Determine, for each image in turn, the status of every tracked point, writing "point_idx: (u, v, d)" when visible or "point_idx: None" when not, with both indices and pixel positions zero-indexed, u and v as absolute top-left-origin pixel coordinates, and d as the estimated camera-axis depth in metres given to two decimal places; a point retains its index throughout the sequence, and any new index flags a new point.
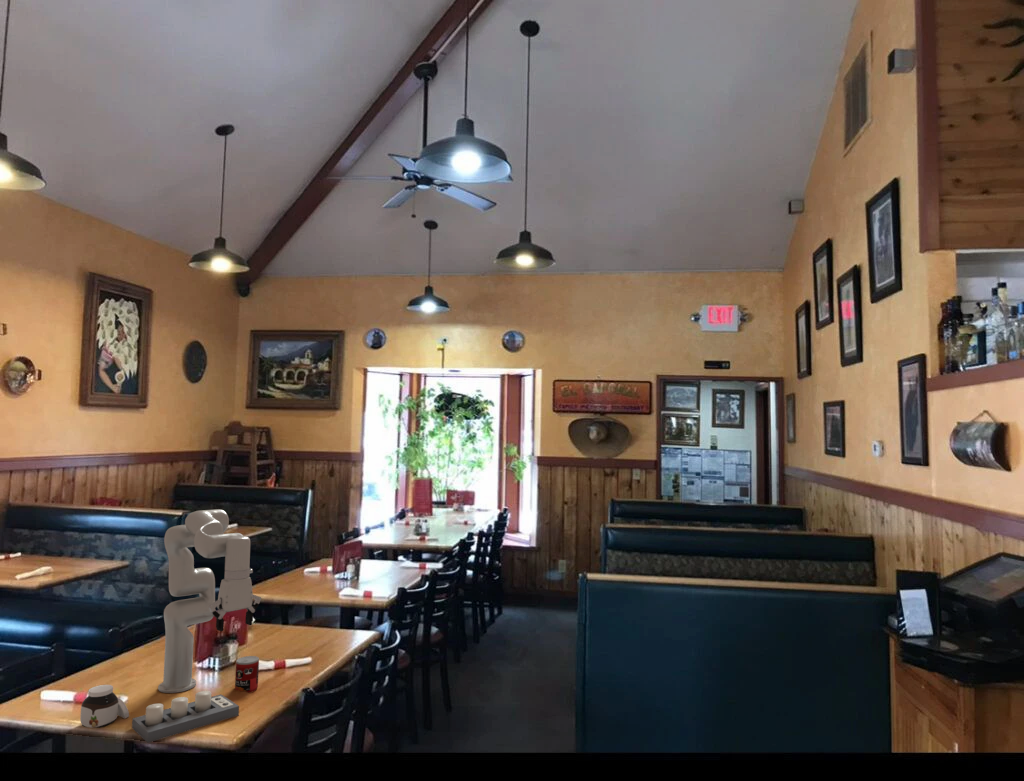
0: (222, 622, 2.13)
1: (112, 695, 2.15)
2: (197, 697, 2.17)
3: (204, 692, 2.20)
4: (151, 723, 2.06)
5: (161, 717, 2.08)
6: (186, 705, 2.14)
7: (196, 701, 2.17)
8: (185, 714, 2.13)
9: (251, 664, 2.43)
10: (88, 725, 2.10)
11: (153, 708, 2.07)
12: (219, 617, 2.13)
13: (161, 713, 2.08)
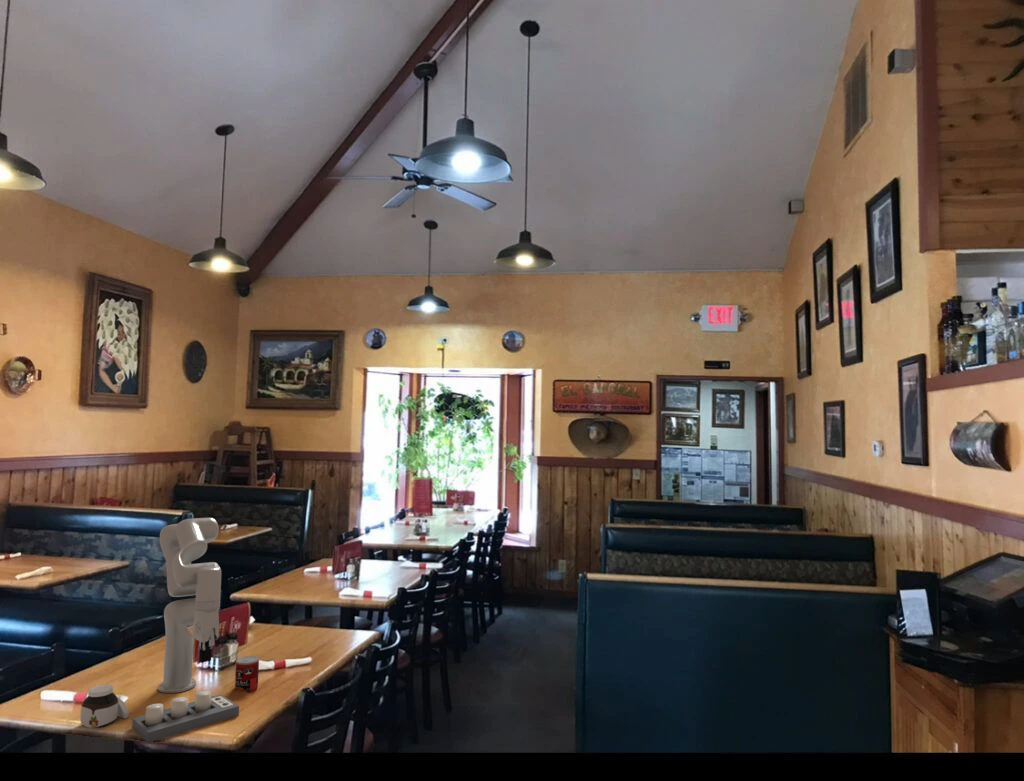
0: None
1: (112, 695, 2.15)
2: (197, 697, 2.17)
3: (204, 692, 2.20)
4: (151, 723, 2.06)
5: (161, 717, 2.08)
6: (186, 705, 2.14)
7: (196, 701, 2.17)
8: (185, 714, 2.13)
9: (251, 664, 2.43)
10: (88, 725, 2.10)
11: (153, 708, 2.07)
12: None
13: (161, 713, 2.08)
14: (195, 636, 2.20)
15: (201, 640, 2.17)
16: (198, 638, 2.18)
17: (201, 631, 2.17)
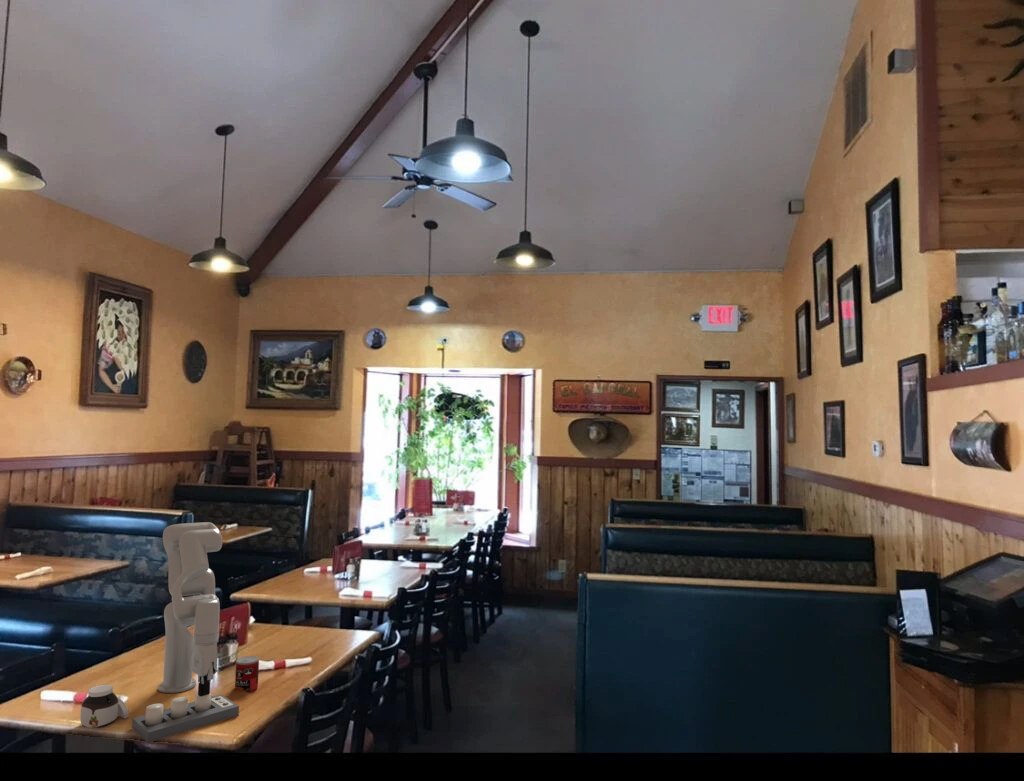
0: None
1: (112, 695, 2.15)
2: (197, 698, 2.17)
3: None
4: (151, 723, 2.06)
5: (161, 717, 2.08)
6: (186, 705, 2.14)
7: (196, 702, 2.17)
8: (185, 714, 2.13)
9: (251, 664, 2.43)
10: (88, 725, 2.10)
11: (153, 708, 2.07)
12: None
13: (161, 713, 2.08)
14: (194, 670, 2.19)
15: (200, 674, 2.16)
16: (197, 672, 2.17)
17: (200, 665, 2.16)
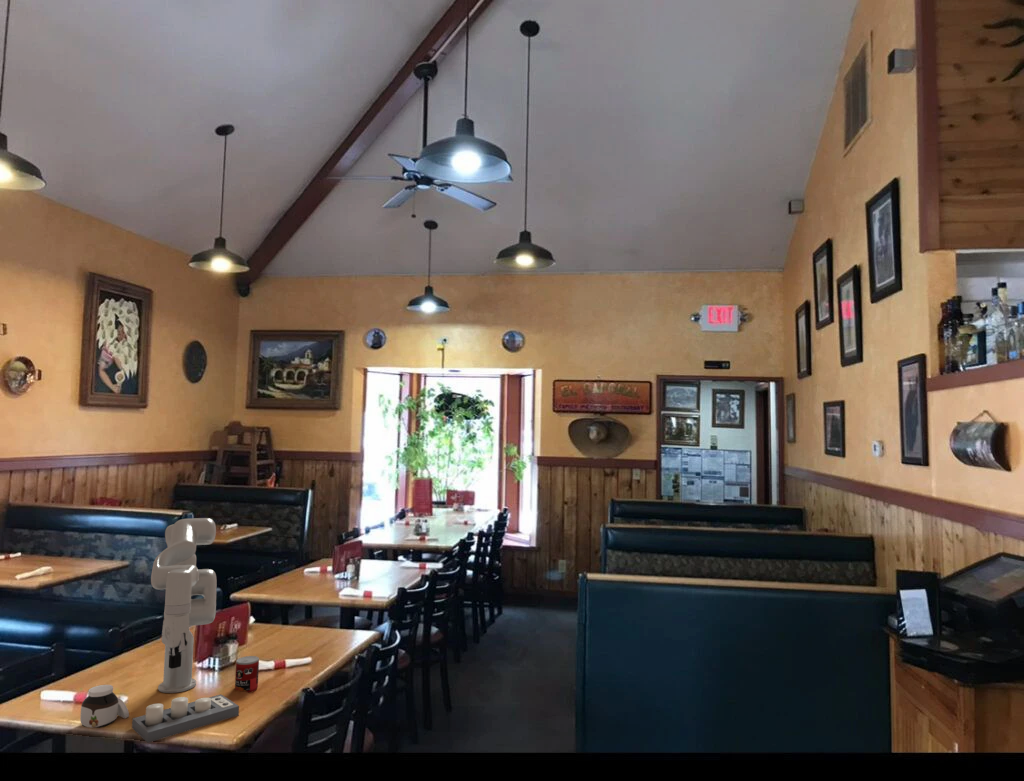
0: None
1: (112, 695, 2.15)
2: (197, 704, 2.17)
3: (204, 699, 2.20)
4: (151, 723, 2.06)
5: (161, 717, 2.08)
6: (186, 705, 2.14)
7: (196, 708, 2.17)
8: (185, 714, 2.13)
9: (251, 664, 2.43)
10: (88, 725, 2.10)
11: (153, 708, 2.07)
12: None
13: (161, 713, 2.08)
14: (164, 641, 2.13)
15: (171, 645, 2.09)
16: (167, 643, 2.11)
17: (171, 636, 2.10)
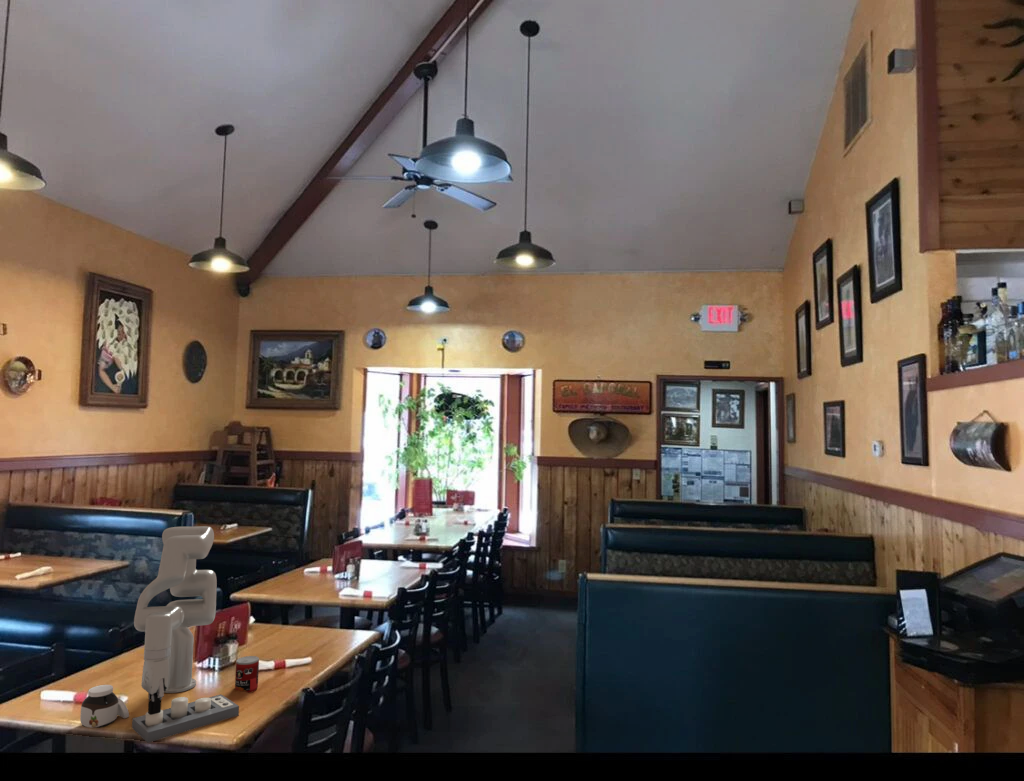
0: (160, 702, 2.09)
1: (112, 695, 2.15)
2: (197, 704, 2.17)
3: (204, 699, 2.20)
4: None
5: None
6: (186, 705, 2.14)
7: (196, 708, 2.17)
8: (185, 714, 2.13)
9: (251, 664, 2.43)
10: (88, 725, 2.10)
11: (152, 714, 2.07)
12: None
13: (161, 719, 2.08)
14: (144, 686, 2.08)
15: (149, 691, 2.05)
16: (146, 689, 2.06)
17: (149, 682, 2.05)
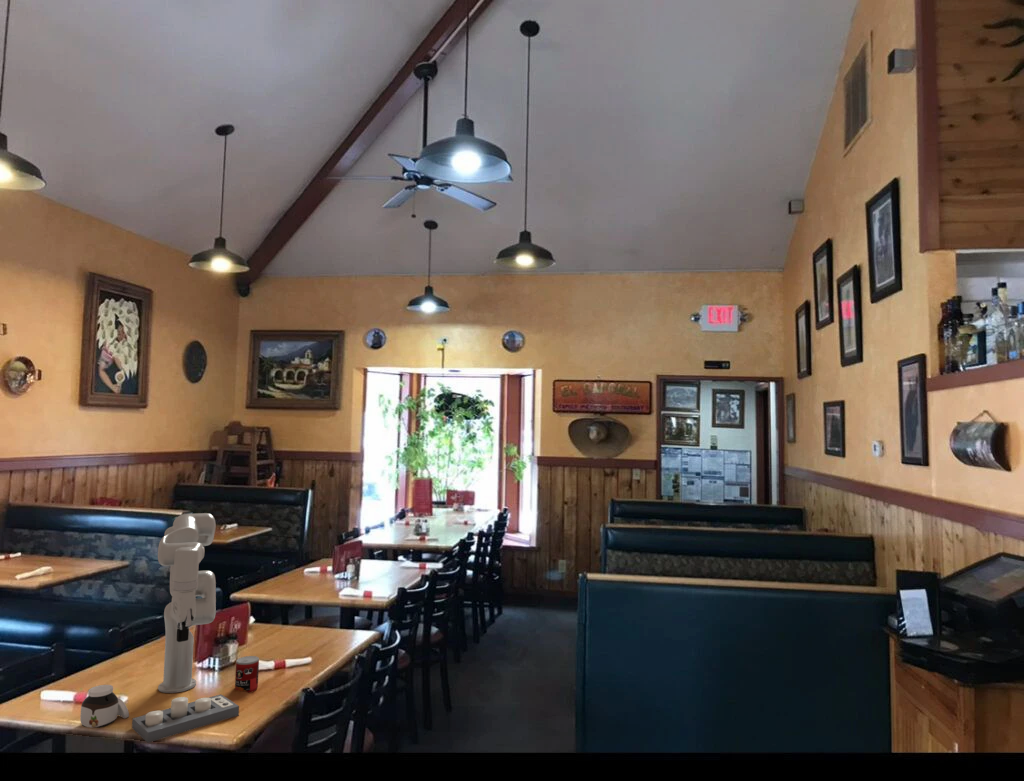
0: None
1: (112, 695, 2.15)
2: (197, 704, 2.17)
3: (204, 699, 2.20)
4: None
5: None
6: (186, 705, 2.14)
7: (196, 708, 2.17)
8: (185, 714, 2.13)
9: (251, 664, 2.43)
10: (88, 725, 2.10)
11: (152, 715, 2.07)
12: None
13: (161, 720, 2.08)
14: (172, 616, 2.20)
15: (178, 620, 2.16)
16: (175, 618, 2.18)
17: (178, 611, 2.17)
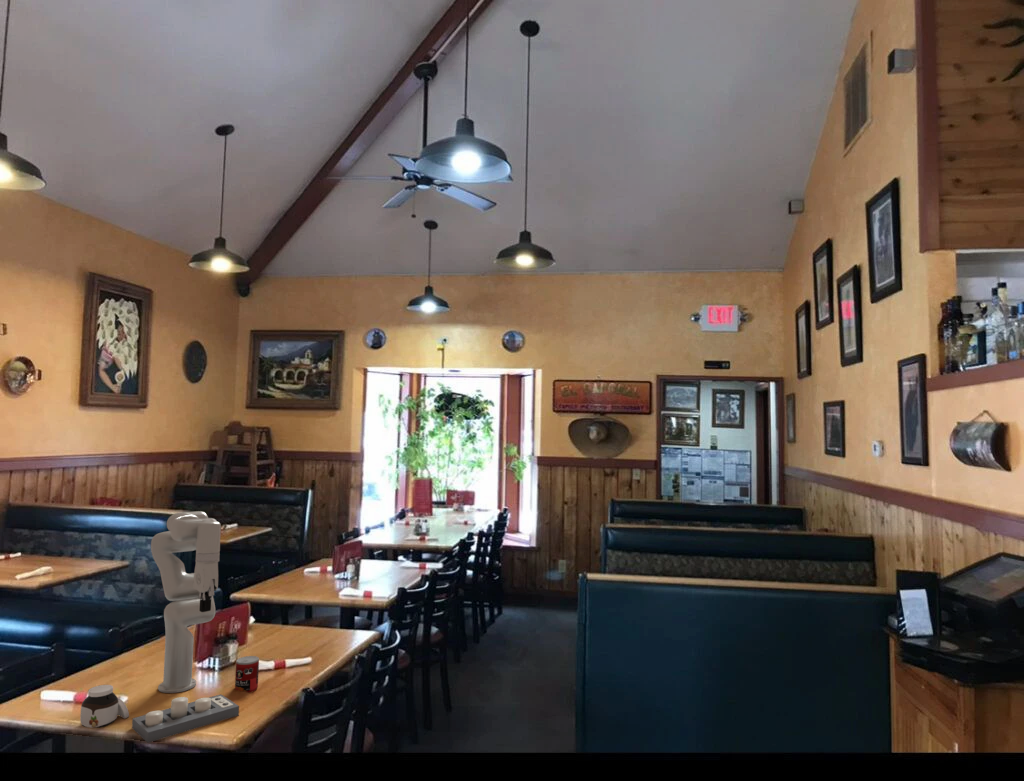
0: None
1: (112, 695, 2.15)
2: (197, 704, 2.17)
3: (204, 699, 2.20)
4: None
5: None
6: (186, 705, 2.14)
7: (196, 708, 2.17)
8: (185, 714, 2.13)
9: (251, 664, 2.43)
10: (88, 725, 2.10)
11: (152, 715, 2.07)
12: None
13: (161, 720, 2.08)
14: (195, 587, 2.29)
15: (201, 590, 2.26)
16: (198, 588, 2.27)
17: (201, 581, 2.26)
